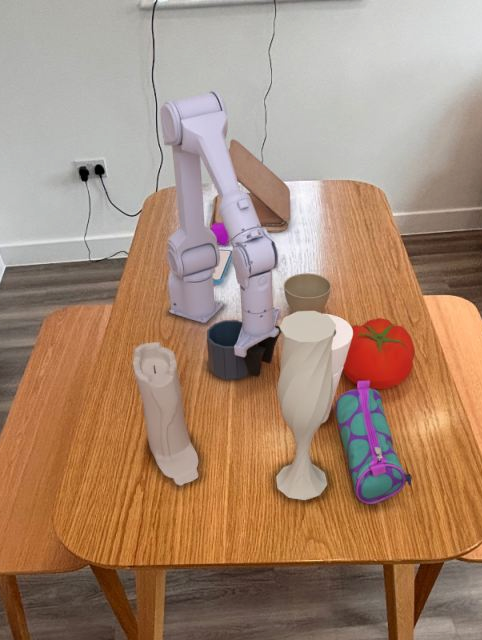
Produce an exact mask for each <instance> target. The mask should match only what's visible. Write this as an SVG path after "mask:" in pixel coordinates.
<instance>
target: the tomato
mask: <svg viewBox="0 0 482 640" xmlns="http://www.w3.org/2000/svg"><path fill="white" fill-rule="evenodd" d="M351 327H352V329H353V337H352V340H351V343H350V347H349V350H348V353H347V357H346V360H345V363H344V366H343V370H342V373H343V374H344V375H345V377H346V378H347V379H348V380H349V381H350V382H351V383H353V384H355V385H357V383H358V381H370V384H369V388H370V389H375V390H386V389H390V388H394V387H397V386H398V385H400V384H401V383H403V382H405V380H407V378H408V377H409V376H410V374H411V373H412V371H413V368H414V359H415V351H416V350H415V346H414V341H413V339H412V336H411V335H410V333H409V332H408V331H407V330H406V328H405V327H404V326H403V325H396V323H394V324H393V323H392V322H391V320H390V319H386V318H381V317H379V318H372V319H369V320H367V321H366V322H364V323H363V324H362V325H357V324H355V325H352V326H351Z"/></svg>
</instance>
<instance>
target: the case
mask: <svg viewBox="0 0 482 640" xmlns="http://www.w3.org/2000/svg"><path fill="white" fill-rule="evenodd" d="M228 151H229V154H230V157H231V161H232V164H233V167H234V171H235V174H236V177H237V181H238V184H240V185H241V186H243V188H245V189H246V190H247V191H248V192H246V193H247V194H248V195H249V196H250V198H251V201H252V203H253V206H254V209H255V211H256V214H257V216H258V219H259V222H260V224H261V227H262V228H265V229H266V230H267V232H269V233H270V232H283V231H285V230H286V229H287V228H288V226H289V225H288V223H289V222H290V220H291V191H290V189H289V187H288V185H287V184H286V183H285V182H284V181H283V180H282V179H281V178H280V177H279V176H278V175H276V174H275V173H274V172H273V171H272V170H271V169H270V168H268V167H267V166H266V165H265V164H264V163H263V162H262V161H261V160H260V159H258V157H256V156H255V155H254V154H253V153H252V152H250V150H248V149H247V148H246V147H245V146H244V145H243V144H242V143H240V142H239V141H238V140H236V139H231V140H230V142H229V148H228ZM220 202H221V198H220V196H219V194H218V193H217V195H216V196H214V198H213V202H212V203H213V204H212V211H211V216H210V223H209V229H211V227H212V225H213V224H215V223H220V222H221V223H223V221H222V218H221V216H220V213H219V210H218V208H219V205H220Z"/></svg>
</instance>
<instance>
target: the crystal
mask: <svg viewBox="0 0 482 640" xmlns="http://www.w3.org/2000/svg"><path fill="white" fill-rule="evenodd" d="M211 230H212V232H213V233H214V234H215V236H216V238H217V245H220V246H223V247H224V246H227V245H228V244H229V242H230V239H229V236H228V234H227V231H226V228H225V226H224V223H221V222H220V223H215V224H213V225H212V227H211Z"/></svg>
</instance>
